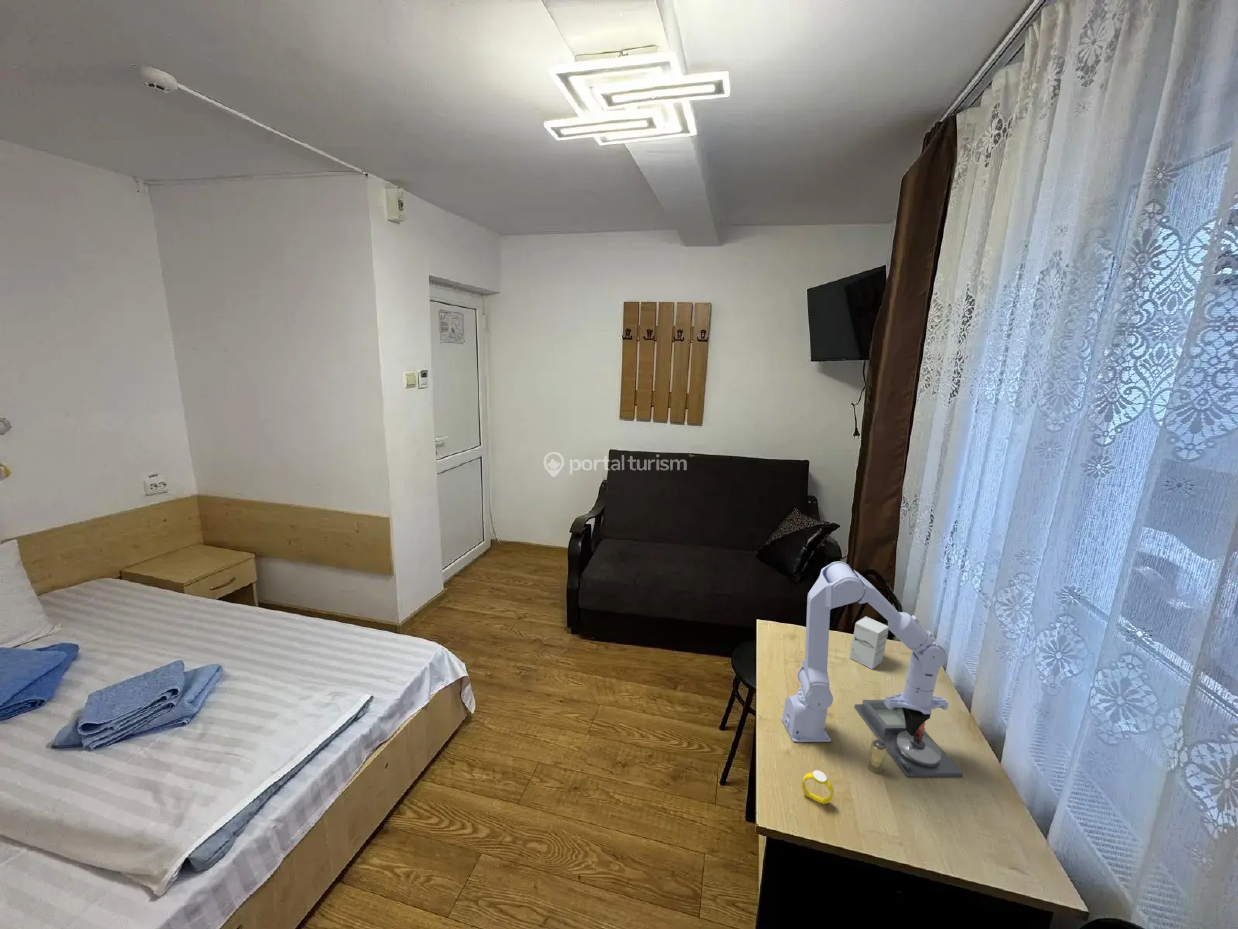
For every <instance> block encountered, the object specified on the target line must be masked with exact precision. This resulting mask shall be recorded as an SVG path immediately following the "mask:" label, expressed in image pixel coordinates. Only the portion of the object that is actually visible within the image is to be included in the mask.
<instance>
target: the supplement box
mask: <svg viewBox="0 0 1238 929" xmlns="http://www.w3.org/2000/svg"><path fill="white" fill-rule="evenodd" d="M853 629H854V631H853V637H852V640H851V641H852V642H851V646H850V652H849V658H850V659H851V660H854V661H856V662H857V663H859V664H861V665H862V666H864V667H866V668H868V669H870V670H874V669H875V668H876V667H877V666H879V665H880V664H881V663H882V662H883V660H884V655H885V649H886V644H887V639H888V635H889V631H890V630H889V628H888V624H885V623H882V622H880V621H877V620H876V619H873V618H870V617H869V616H864V617H863V618H861V619H859V620H857V621H856V622H855V624H854V628H853Z"/></svg>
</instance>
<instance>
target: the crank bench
mask: <svg viewBox="0 0 1238 929" xmlns="http://www.w3.org/2000/svg"><path fill="white" fill-rule="evenodd" d="M884 701H885V699H862V702H861V703H860V704H857V703H856V704H854V709H855V710H856V712H857V713H858V715H859V716H860V718H862V720H863V721H864V722H865V724H866V725H867V726H868V728H869V729H870V731H871V732H872V734H874V735H875V737H876V738H877V740H879V741H882V742H883V743H884V744H885V746H886V753H888V754H889V755H890V757H891V758H892V759H893V761H894V762H895V764H896V765H897V766H898V768H899V769H900V770H901V771H902V773H903V774H904V776H905V777H906V778H933V777H934V778H939V777H940V778H942V777H943V778H944V777H945V778H946V777H947V778H949V777H951V778H952V777H953V778H954V777H955V778H956V777H958V778H959V777H963V771H962V770H961V769H959V767H958V766H957V765H956V763H954V761H953V760H952V759H951V758H950V757H949V755H947V754H946V753H945V751H944V750H943V749H942V748H941V747H940V746H939V745H938V743H937V742H936V741H935V740H934V739H933V738H932V737H931V735H929V734H928V732H926V730H925V729H926V728H925V727H924V731H923V736H925V737H927V738H929V739H930V740H931V741H933V742H934V743H935V744H936V745H937V746H938V747H939V749H940V751H941V759H940V763H939V764H938V765H937V766H933V767H928V766H923V765H920V764H917V763H915V762H913V761H911V760H909V759H908V758H906V757H905V756H904V755H903V754H902V753H901V752H900V751H899V750H898V748H897V746H896V740H897V735H898V734H899V733H900V732H903V731H906V725H905V718H904V714H903V711H902V708H896V707H893V709H888V708H887V707H886V706H885V704H884Z"/></svg>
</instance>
